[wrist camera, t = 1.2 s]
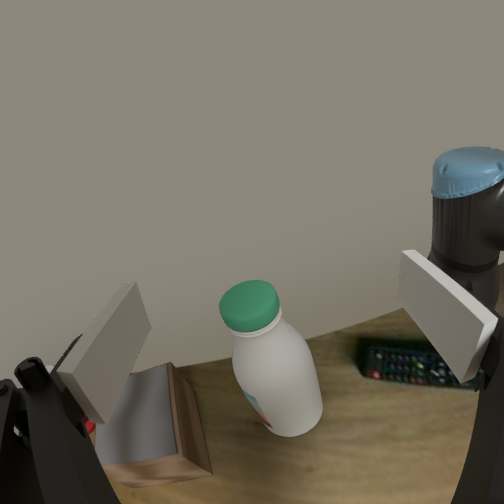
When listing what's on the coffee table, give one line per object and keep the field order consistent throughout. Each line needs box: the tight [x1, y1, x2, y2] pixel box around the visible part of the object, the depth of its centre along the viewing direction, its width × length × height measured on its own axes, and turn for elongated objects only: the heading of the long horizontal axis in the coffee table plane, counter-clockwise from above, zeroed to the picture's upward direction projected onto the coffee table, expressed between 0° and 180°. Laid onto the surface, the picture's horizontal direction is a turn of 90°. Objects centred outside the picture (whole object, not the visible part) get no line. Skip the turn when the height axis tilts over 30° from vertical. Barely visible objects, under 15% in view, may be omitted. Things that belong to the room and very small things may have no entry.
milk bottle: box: [219, 280, 323, 437], centre depth 26 cm, size 8×8×20 cm
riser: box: [94, 362, 213, 488], centre depth 29 cm, size 12×14×8 cm
